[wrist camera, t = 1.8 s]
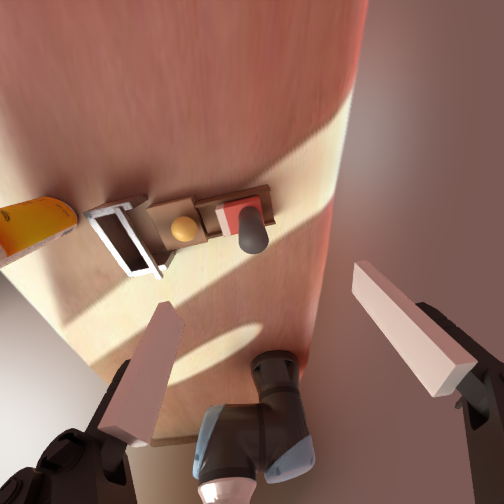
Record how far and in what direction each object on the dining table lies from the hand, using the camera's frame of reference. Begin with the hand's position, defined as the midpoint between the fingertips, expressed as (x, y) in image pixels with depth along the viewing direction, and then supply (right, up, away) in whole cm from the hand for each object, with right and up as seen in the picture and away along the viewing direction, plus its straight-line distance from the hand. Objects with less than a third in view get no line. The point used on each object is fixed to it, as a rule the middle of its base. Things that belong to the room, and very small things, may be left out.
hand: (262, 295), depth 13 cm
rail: (-3, +11, +19) cm, 22 cm away
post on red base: (-3, +10, +17) cm, 20 cm away
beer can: (-33, +10, +18) cm, 39 cm away
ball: (-12, +7, +16) cm, 21 cm away
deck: (-13, +9, +20) cm, 25 cm away
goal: (-21, +7, +20) cm, 29 cm away
